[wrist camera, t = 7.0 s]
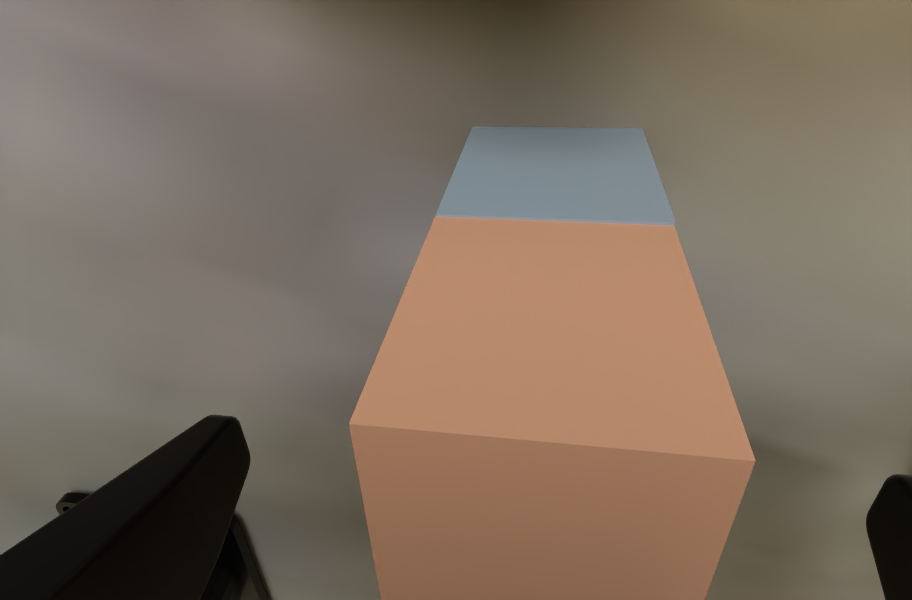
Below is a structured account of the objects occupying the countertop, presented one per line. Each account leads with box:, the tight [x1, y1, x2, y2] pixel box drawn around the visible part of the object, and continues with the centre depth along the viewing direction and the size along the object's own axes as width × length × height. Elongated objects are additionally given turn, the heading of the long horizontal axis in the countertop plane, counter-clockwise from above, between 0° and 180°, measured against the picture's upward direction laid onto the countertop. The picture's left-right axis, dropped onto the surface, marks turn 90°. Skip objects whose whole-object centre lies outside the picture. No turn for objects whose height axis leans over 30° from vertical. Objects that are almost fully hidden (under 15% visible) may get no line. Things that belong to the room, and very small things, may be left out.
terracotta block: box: [349, 216, 755, 600], centre depth 8 cm, size 6×3×4 cm, turn 2°
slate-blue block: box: [436, 127, 676, 227], centre depth 11 cm, size 6×3×4 cm, turn 2°
